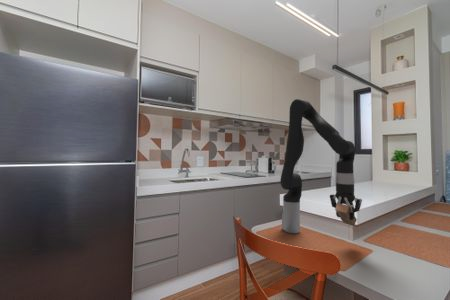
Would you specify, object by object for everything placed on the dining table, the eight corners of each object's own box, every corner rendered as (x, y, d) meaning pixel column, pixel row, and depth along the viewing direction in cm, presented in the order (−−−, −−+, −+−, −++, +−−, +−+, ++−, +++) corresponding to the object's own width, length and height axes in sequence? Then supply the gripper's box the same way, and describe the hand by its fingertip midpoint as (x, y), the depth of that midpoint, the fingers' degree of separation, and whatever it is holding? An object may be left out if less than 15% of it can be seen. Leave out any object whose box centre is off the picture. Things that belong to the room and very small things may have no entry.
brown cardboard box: (343, 222, 102) (334, 209, 97) (345, 216, 103) (337, 203, 99) (354, 225, 97) (346, 211, 93) (356, 219, 99) (348, 205, 95)
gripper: (325, 181, 102) (326, 216, 101) (357, 185, 90) (358, 224, 89) (333, 180, 106) (334, 213, 106) (365, 183, 94) (365, 221, 94)
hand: (345, 218), depth 97 cm, fingers closed on brown cardboard box, 5 cm apart
